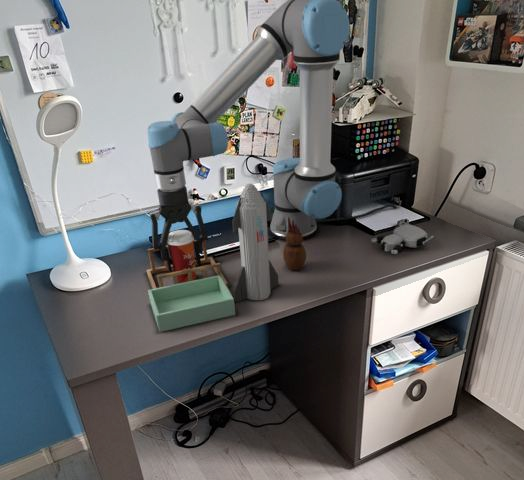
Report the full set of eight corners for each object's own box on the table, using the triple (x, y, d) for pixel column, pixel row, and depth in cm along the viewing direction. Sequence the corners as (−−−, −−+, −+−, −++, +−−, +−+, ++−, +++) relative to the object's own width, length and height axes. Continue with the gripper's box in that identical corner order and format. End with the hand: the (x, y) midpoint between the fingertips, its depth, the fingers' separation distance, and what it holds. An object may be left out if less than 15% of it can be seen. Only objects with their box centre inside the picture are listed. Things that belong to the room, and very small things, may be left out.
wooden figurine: (280, 265, 155) (278, 217, 146) (297, 260, 157) (296, 212, 148) (292, 275, 150) (290, 225, 141) (309, 269, 152) (309, 220, 143)
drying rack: (212, 260, 160) (209, 237, 156) (228, 287, 146) (225, 262, 142) (147, 273, 156) (142, 249, 151) (157, 302, 142) (152, 277, 137)
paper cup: (195, 287, 147) (188, 241, 139) (169, 286, 149) (161, 240, 140) (203, 274, 153) (197, 229, 145) (178, 273, 155) (170, 228, 146)
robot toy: (394, 263, 154) (434, 247, 158) (395, 249, 151) (435, 233, 156) (368, 248, 163) (407, 233, 167) (368, 234, 160) (407, 219, 164)
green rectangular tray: (221, 290, 145) (219, 274, 142) (235, 314, 135) (233, 298, 132) (151, 305, 141) (147, 289, 138) (159, 332, 130) (156, 315, 127)
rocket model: (271, 280, 148) (266, 173, 130) (286, 290, 143) (282, 181, 125) (228, 296, 142) (216, 187, 124) (242, 307, 137) (232, 195, 119)
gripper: (133, 198, 130) (150, 280, 143) (213, 185, 134) (222, 265, 148) (129, 189, 135) (146, 268, 149) (206, 176, 140) (216, 254, 154)
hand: (184, 266), depth 148 cm, fingers closed on paper cup, 8 cm apart
